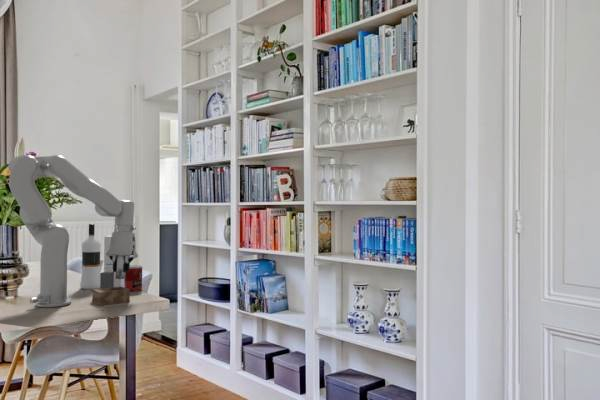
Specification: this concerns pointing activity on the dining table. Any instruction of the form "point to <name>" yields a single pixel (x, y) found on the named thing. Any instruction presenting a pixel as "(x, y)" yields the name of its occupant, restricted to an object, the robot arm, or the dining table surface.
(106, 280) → the square bit
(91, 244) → the vodka
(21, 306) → the dining table surface
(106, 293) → the bore block
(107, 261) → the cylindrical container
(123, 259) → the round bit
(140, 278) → the canned food
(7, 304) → the dining table surface
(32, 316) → the dining table surface
